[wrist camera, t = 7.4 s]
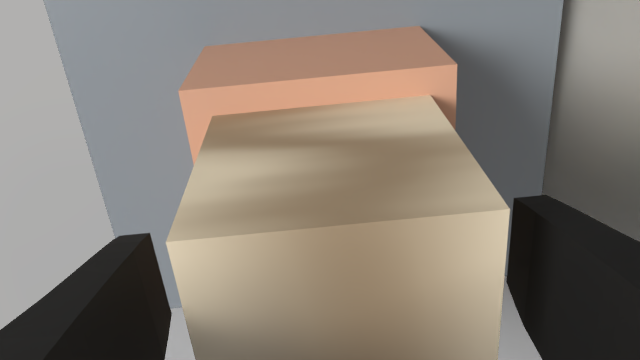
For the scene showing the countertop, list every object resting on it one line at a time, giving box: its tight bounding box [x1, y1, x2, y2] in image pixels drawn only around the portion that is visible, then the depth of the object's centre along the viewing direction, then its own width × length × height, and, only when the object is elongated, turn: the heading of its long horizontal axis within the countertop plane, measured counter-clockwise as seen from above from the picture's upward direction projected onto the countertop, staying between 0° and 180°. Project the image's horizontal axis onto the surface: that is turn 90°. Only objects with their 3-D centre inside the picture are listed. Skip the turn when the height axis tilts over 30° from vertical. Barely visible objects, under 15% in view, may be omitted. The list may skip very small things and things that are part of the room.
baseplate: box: [44, 0, 564, 308], centre depth 17 cm, size 14×12×1 cm
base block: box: [178, 26, 457, 164], centre depth 15 cm, size 6×6×4 cm
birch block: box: [166, 95, 510, 360], centre depth 11 cm, size 5×5×5 cm
